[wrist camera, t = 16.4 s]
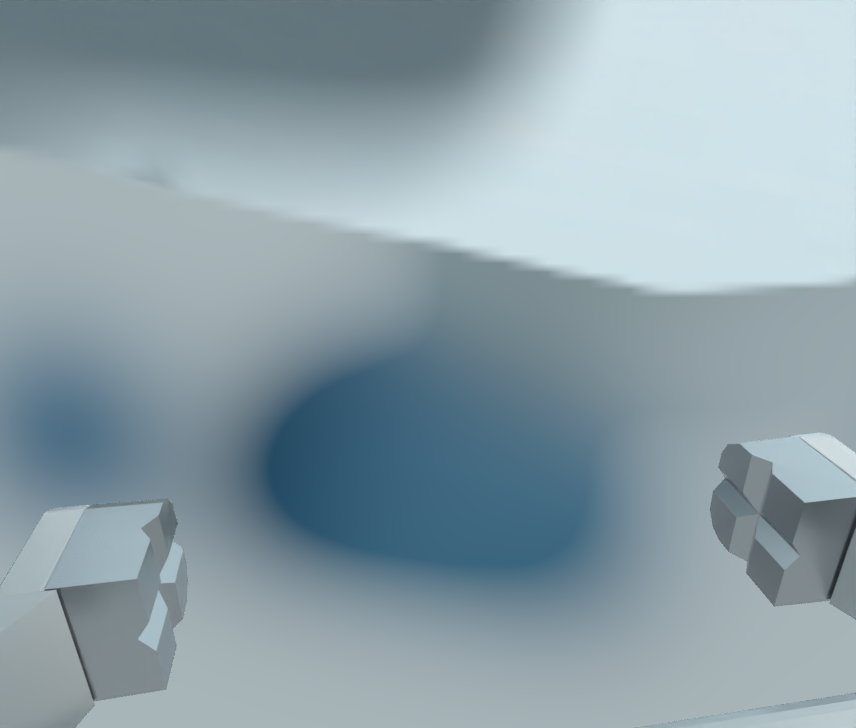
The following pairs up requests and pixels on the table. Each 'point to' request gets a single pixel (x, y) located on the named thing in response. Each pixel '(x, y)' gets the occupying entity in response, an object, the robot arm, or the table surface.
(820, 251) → the table surface
